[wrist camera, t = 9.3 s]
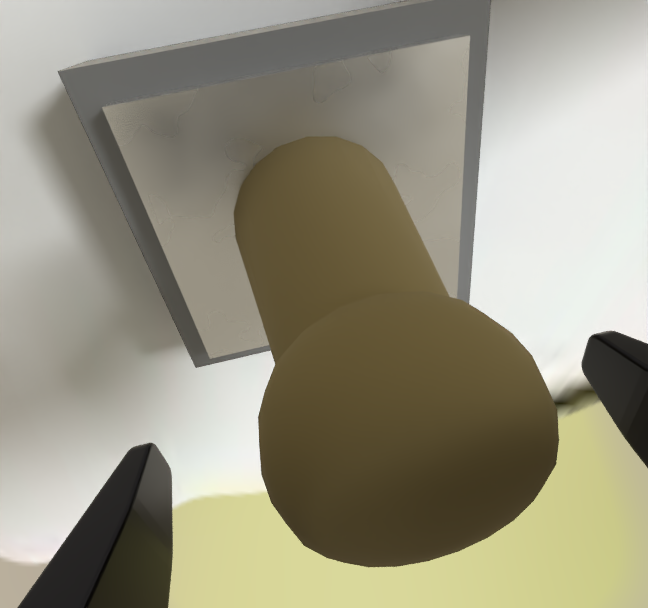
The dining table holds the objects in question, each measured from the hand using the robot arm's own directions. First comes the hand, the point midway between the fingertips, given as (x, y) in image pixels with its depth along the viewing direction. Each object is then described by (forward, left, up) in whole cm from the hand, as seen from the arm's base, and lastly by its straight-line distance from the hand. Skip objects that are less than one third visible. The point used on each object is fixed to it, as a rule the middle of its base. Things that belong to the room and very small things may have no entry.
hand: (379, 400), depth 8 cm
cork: (0, 0, -9) cm, 9 cm away
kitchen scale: (0, 0, -12) cm, 12 cm away
